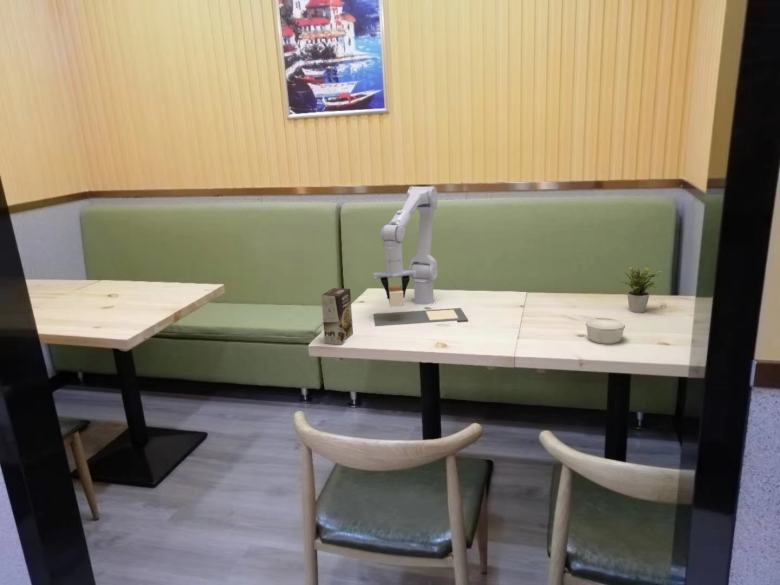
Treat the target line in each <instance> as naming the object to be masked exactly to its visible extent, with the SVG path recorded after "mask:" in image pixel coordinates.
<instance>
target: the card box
mask: <svg viewBox="0 0 780 585" xmlns="http://www.w3.org/2000/svg"><path fill="white" fill-rule="evenodd" d="M389 298H390V299H388V304H389V306H390V308H395V307H405V303H404V302H405V301H404V300H405V298H403V290H402V285H398V286H397V285H396V286H389Z"/></svg>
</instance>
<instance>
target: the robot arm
mask: <svg viewBox="0 0 780 585" xmlns="http://www.w3.org/2000/svg"><path fill="white" fill-rule="evenodd" d="M438 195H439V193H438V190H437V189H436V187H435V186H413V185H411V186H410V187H409V188H408V190H407V191H406V201H405V203H404V205H403V206H402V209H399V210H397V211H396V212H395V214H394V216H393V217H392V218H391V220H390V221H389V223H388V224H385V225H384V226H382V228H381V230H380V231H381V232H380V238H381V240H382V244H383V247H384V249H385V250H384V254H385V268H386V269H385V270H384V271H378V272H373V280H379V279H380V282H381V284H382V286H383V287H384V290H385V293H386V298H387V300H389V299H390V298H389V287H390V286H389V279H391V278H393V279H395V278H401V287H402V290H403V299H405V296H406V291H407V289H408V288H407V287H408V285H409V283H410V279H412V280H411V281H412V282H413V287H414V288H413V291H414V298H412V302H413V304H414V306H428V305H436V304H437V303H436V301H435V298H434V281H435V280H436V279H437V277H438V274H439V273H438V272H439V271H438V270H439V269H438V261H437V260H436V259H435V258H434V257H433V256H432V255H431V252H432V251H431V250H432V240H433V239H432V237H433V225H434V224H433V223H434V222H433V220H434V212H435V211H436V210H437V209H438V208H437V207H438V198H439V196H438ZM415 210H418V212H419V219H418V220H419V222H418V235H417V251H416V252H417V253H416V255H414V256H413V257H412V258H410V265H409V267H408V270H407V269H404V266H403V250H402V249H403V243H402V242H403V241H404V238H405V234H406V232H407V231H406V228H407V227H408V226H409V224H410V222H412V217H411V216H412V214H413V213H414V211H415Z"/></svg>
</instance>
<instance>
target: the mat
mask: <svg viewBox="0 0 780 585" xmlns="http://www.w3.org/2000/svg"><path fill="white" fill-rule="evenodd" d="M440 310H454V311H455V313H456V315H457V316H458V319H445V320H431V321H430V320H429V318H428V315H427V313H426V311H440ZM464 312H465V311H463V309H462V308H461V307H455V308H441V309H425V310H410V311H395V312H379V313H372V314H373V321H374V326H375V327H384V326H385V327H386V326H398V325H399V326H400V325H401V326H402V325H412V324H414V325H415V324H428V323H441V322H443V323H445V322H457V323H465V322H466V323H467V322H469V319H468V317H467V316H466V314H465V313H464Z"/></svg>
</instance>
